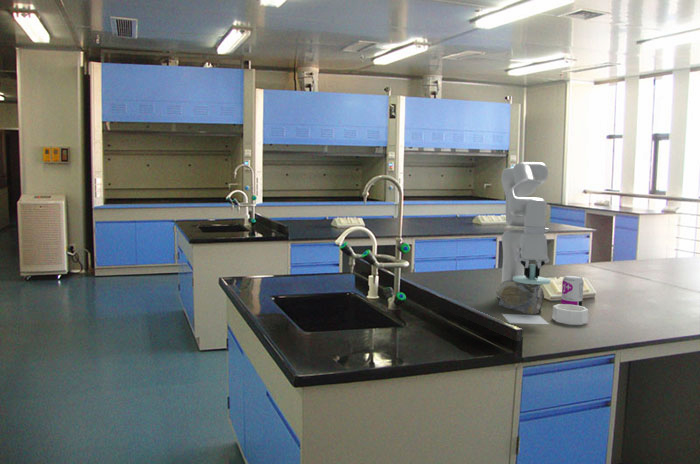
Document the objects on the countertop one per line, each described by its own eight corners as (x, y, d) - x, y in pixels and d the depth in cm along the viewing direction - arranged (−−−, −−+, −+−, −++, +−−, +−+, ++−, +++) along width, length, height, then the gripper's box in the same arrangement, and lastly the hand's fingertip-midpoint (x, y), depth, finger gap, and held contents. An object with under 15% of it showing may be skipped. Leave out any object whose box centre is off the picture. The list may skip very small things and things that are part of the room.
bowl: (549, 317, 233) (550, 303, 233) (579, 318, 233) (580, 304, 232) (559, 324, 221) (560, 310, 221) (590, 325, 221) (591, 311, 220)
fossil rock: (495, 314, 251) (493, 280, 252) (511, 313, 256) (509, 279, 257) (532, 315, 233) (530, 278, 235) (548, 314, 238) (546, 278, 240)
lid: (509, 277, 233) (510, 261, 233) (544, 278, 233) (545, 262, 232) (517, 283, 219) (518, 267, 219) (554, 285, 219) (556, 268, 218)
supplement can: (568, 314, 238) (571, 278, 236) (556, 310, 246) (558, 275, 244) (585, 314, 240) (588, 278, 238) (573, 309, 248) (575, 274, 246)
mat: (501, 314, 235) (501, 313, 235) (538, 316, 234) (538, 315, 234) (509, 324, 221) (509, 322, 221) (549, 325, 221) (549, 324, 221)
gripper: (552, 230, 227) (549, 276, 229) (510, 229, 228) (508, 275, 230) (558, 232, 220) (555, 280, 222) (515, 231, 221) (512, 278, 223)
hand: (531, 277), depth 226 cm, fingers closed on lid, 2 cm apart
